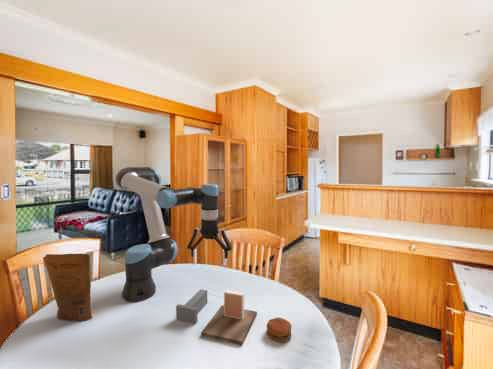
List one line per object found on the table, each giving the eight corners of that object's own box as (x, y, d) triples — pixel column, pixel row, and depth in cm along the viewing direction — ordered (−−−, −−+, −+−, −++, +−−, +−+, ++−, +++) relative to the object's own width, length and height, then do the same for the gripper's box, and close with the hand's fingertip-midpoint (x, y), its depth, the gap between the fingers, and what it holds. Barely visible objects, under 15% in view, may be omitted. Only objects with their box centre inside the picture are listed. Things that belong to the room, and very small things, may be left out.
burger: (293, 343, 88) (293, 331, 88) (267, 343, 88) (267, 330, 88) (289, 326, 98) (289, 314, 98) (265, 325, 98) (265, 314, 98)
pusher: (176, 320, 102) (176, 305, 101) (195, 300, 117) (195, 288, 116) (195, 324, 99) (195, 309, 99) (212, 304, 114) (212, 291, 113)
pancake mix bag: (86, 325, 98) (83, 256, 96) (44, 321, 101) (40, 253, 99) (99, 315, 105) (96, 250, 103) (59, 311, 108) (56, 248, 106)
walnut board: (201, 335, 92) (201, 332, 92) (222, 308, 110) (222, 305, 110) (242, 345, 87) (242, 341, 87) (256, 315, 105) (256, 311, 105)
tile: (224, 315, 102) (223, 292, 101) (226, 313, 104) (225, 289, 103) (242, 319, 100) (242, 295, 99) (244, 316, 102) (244, 292, 101)
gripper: (179, 219, 109) (180, 266, 111) (235, 221, 107) (235, 269, 108) (185, 215, 117) (186, 259, 118) (238, 217, 114) (237, 262, 116)
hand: (209, 264), depth 113 cm, fingers open, 13 cm apart
